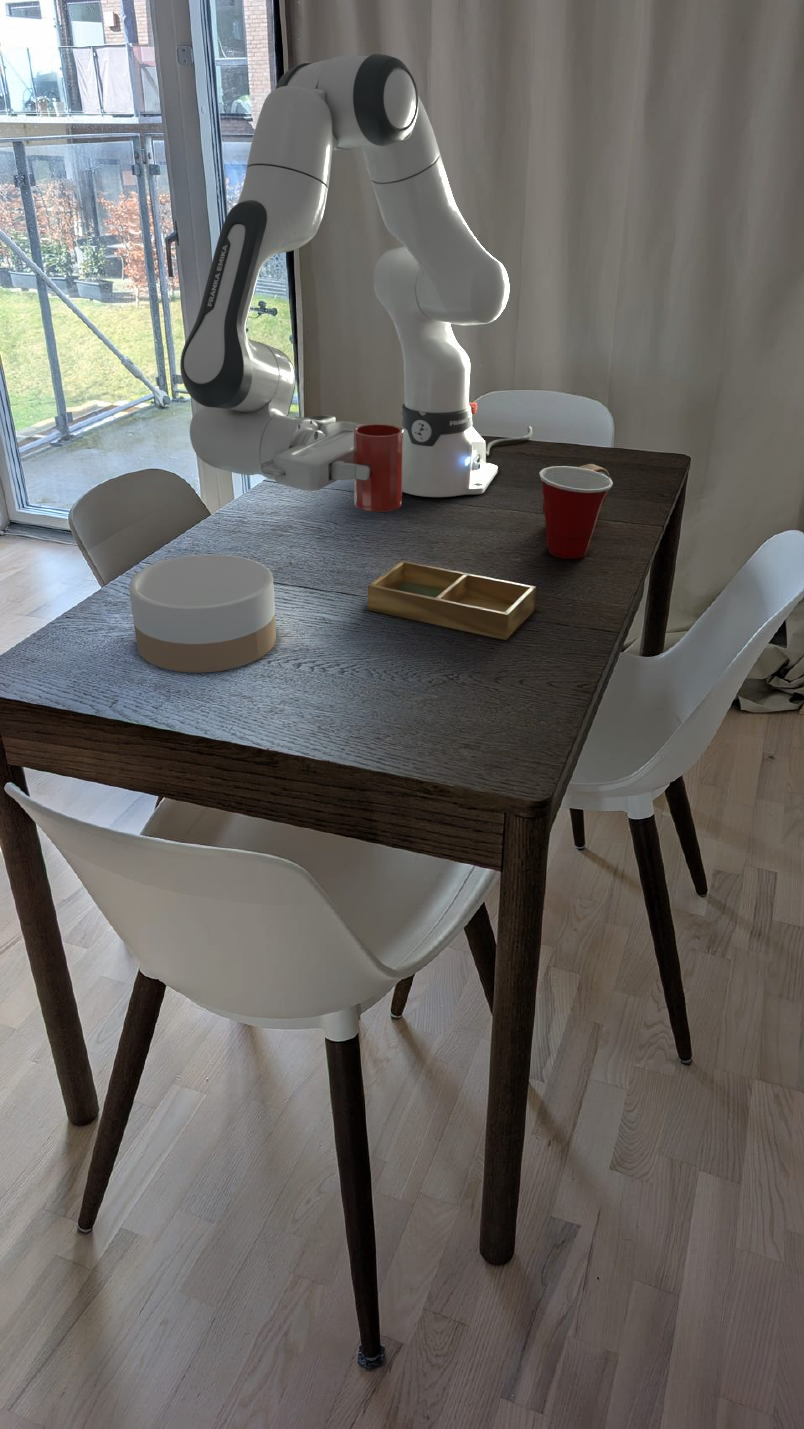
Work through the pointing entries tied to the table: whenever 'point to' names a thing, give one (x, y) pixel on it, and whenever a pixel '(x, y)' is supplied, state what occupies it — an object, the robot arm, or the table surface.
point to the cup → (379, 467)
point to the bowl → (203, 612)
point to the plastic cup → (572, 508)
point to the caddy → (452, 599)
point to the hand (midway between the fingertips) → (384, 464)
